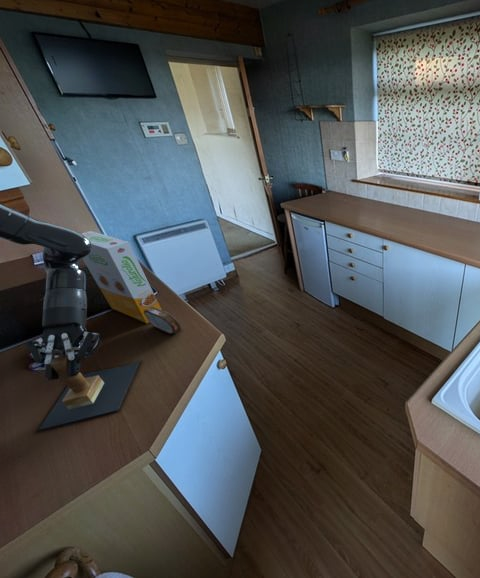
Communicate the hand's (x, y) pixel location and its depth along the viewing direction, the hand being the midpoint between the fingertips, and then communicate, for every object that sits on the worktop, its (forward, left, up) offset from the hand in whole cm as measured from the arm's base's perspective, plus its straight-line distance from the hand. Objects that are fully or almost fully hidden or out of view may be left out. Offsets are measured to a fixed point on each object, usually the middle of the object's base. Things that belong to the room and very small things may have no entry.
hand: (63, 377), depth 71 cm
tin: (+11, +31, -12) cm, 35 cm away
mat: (-1, +6, -12) cm, 14 cm away
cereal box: (-2, +47, -12) cm, 49 cm away
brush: (0, +2, -9) cm, 9 cm away
